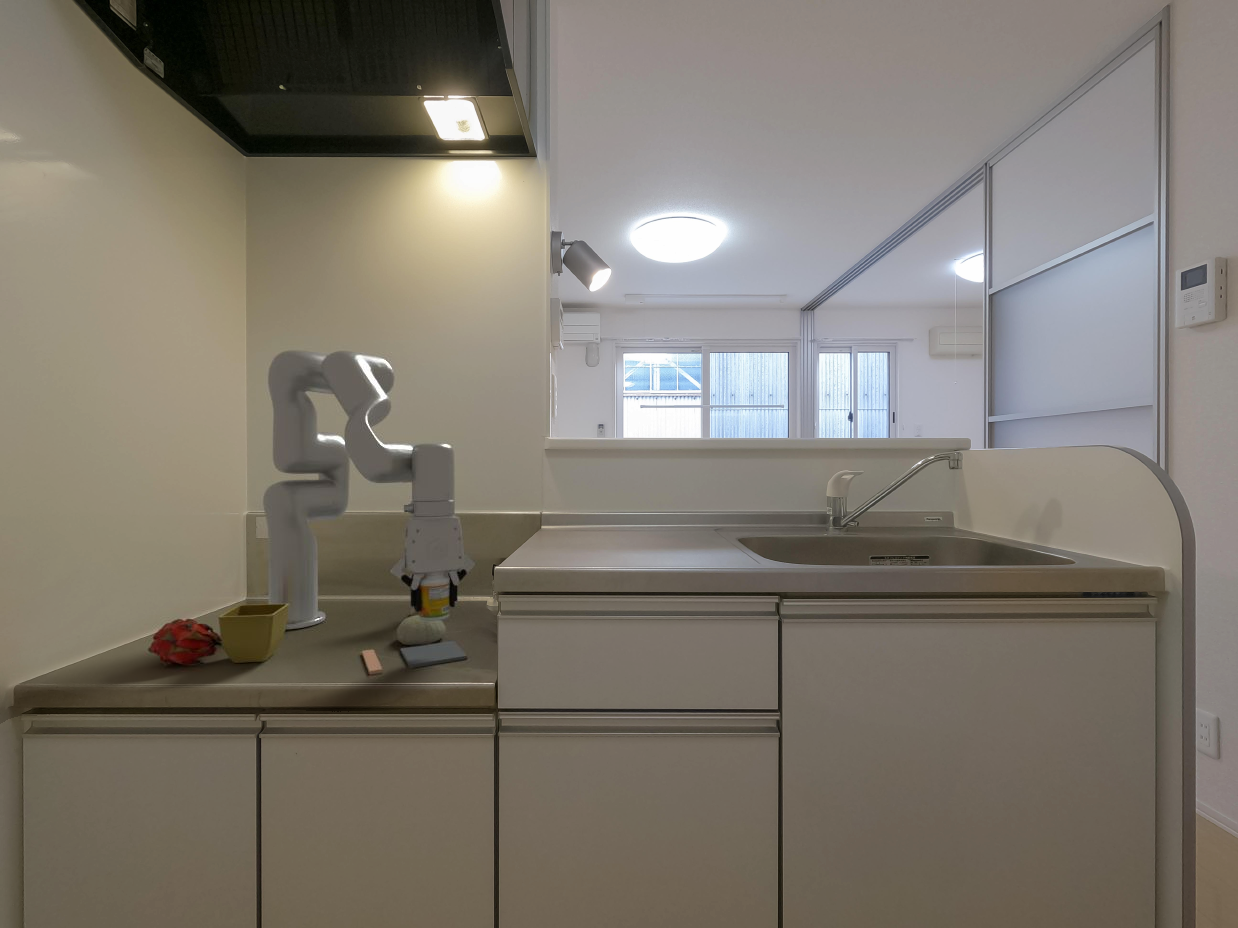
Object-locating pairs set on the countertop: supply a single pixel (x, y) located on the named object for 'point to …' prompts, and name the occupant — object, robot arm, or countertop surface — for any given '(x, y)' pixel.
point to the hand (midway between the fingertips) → (434, 606)
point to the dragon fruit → (184, 642)
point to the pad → (432, 654)
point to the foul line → (371, 662)
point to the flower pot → (253, 631)
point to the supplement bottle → (434, 597)
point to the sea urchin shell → (420, 631)
